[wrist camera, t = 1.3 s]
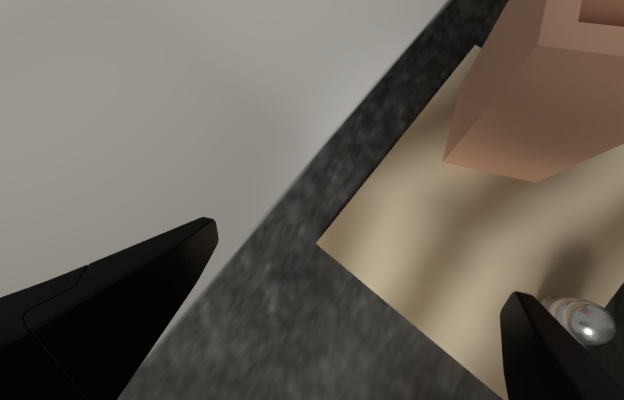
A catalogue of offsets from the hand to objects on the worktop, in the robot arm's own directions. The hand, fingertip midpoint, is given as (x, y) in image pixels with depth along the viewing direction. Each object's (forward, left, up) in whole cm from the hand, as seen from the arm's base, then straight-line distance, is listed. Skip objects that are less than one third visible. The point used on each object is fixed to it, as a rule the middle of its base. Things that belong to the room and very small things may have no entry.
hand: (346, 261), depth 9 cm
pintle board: (-5, -9, -13) cm, 17 cm away
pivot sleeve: (-2, -13, -12) cm, 18 cm away
